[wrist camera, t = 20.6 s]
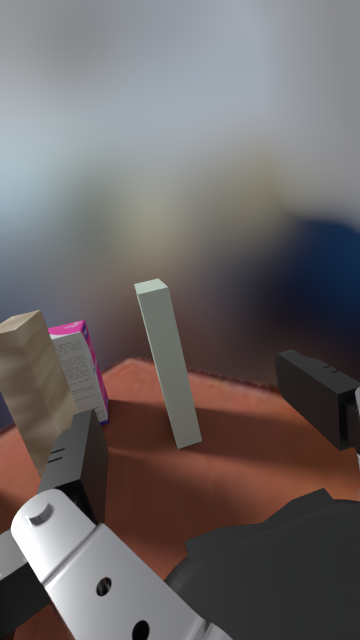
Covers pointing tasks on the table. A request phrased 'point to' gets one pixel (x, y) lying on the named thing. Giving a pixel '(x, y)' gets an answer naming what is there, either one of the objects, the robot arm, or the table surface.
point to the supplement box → (81, 368)
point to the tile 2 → (34, 385)
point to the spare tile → (169, 360)
